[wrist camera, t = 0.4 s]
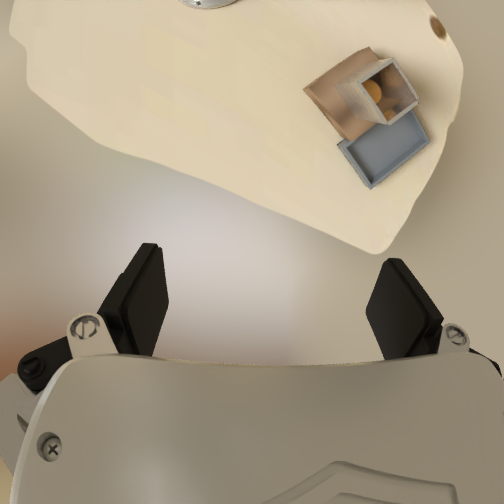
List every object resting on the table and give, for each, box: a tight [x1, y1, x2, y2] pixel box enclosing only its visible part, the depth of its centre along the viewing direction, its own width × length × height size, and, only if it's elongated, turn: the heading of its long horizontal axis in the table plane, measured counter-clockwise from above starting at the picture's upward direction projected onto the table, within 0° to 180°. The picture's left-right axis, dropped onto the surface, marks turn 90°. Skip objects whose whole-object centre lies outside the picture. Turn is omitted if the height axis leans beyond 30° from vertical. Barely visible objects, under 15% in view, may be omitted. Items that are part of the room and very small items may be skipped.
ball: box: [361, 79, 381, 104], centre depth 30 cm, size 4×4×4 cm
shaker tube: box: [332, 57, 419, 125], centre depth 27 cm, size 6×6×9 cm
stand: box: [303, 47, 402, 141], centre depth 33 cm, size 10×12×5 cm
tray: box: [337, 109, 430, 190], centre depth 38 cm, size 9×15×2 cm, turn 132°
